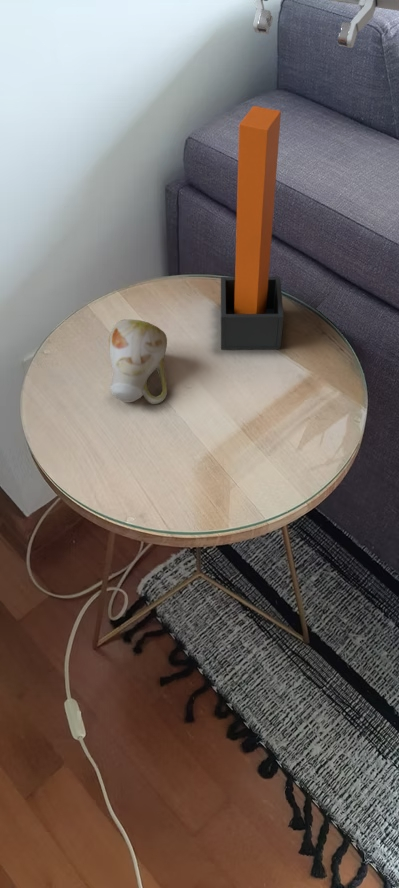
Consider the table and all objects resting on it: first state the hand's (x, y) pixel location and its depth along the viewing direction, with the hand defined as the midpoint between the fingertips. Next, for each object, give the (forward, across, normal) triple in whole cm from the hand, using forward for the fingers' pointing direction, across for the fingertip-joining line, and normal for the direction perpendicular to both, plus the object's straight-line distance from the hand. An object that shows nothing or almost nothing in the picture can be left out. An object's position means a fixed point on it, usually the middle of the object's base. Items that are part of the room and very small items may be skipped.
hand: (302, 37), depth 74 cm
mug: (+41, -10, +4) cm, 42 cm away
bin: (+31, 0, +13) cm, 34 cm away
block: (+30, 0, +13) cm, 33 cm away
